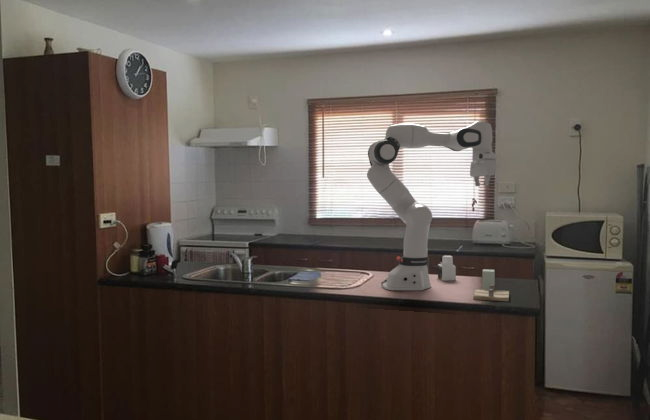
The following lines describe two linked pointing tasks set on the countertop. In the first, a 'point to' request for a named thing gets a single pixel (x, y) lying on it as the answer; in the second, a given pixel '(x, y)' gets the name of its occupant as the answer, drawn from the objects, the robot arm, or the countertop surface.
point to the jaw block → (487, 278)
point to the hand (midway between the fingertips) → (481, 186)
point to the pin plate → (494, 298)
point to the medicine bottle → (446, 268)
